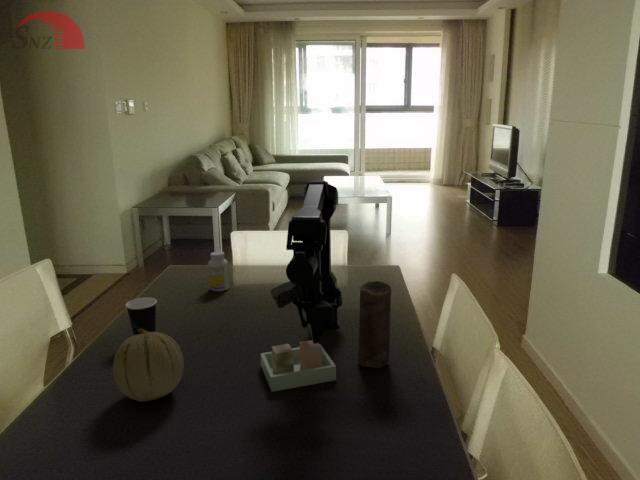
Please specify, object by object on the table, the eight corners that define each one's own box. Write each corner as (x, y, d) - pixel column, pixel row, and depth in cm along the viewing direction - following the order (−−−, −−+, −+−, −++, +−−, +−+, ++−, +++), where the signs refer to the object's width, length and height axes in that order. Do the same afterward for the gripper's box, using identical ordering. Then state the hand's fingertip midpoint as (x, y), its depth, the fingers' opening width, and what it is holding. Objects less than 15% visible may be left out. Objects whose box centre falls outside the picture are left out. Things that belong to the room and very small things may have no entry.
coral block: (316, 362, 124) (315, 339, 123) (321, 370, 120) (320, 346, 119) (300, 365, 123) (299, 342, 122) (304, 373, 119) (304, 349, 118)
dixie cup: (126, 347, 136) (121, 308, 133) (135, 334, 144) (130, 297, 141) (156, 346, 136) (152, 307, 134) (164, 333, 144) (160, 296, 141)
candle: (392, 359, 126) (393, 282, 121) (386, 374, 120) (387, 292, 115) (362, 355, 129) (362, 279, 124) (354, 369, 122) (354, 289, 117)
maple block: (289, 366, 122) (288, 343, 121) (294, 374, 119) (293, 350, 117) (272, 369, 121) (271, 346, 120) (277, 377, 118) (276, 353, 116)
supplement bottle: (220, 284, 184) (217, 249, 181) (233, 287, 180) (231, 252, 177) (206, 289, 179) (203, 254, 175) (219, 293, 175) (216, 256, 172)
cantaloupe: (148, 423, 103) (139, 354, 99) (101, 402, 111) (92, 338, 107) (201, 389, 115) (195, 326, 111) (156, 372, 123) (149, 314, 119)
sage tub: (320, 356, 129) (320, 343, 128) (336, 380, 118) (335, 366, 117) (261, 366, 125) (260, 353, 124) (271, 391, 113) (270, 377, 113)
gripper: (264, 262, 122) (267, 324, 126) (282, 287, 105) (285, 358, 109) (309, 258, 125) (311, 318, 129) (334, 281, 108) (335, 350, 112)
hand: (309, 334), depth 119 cm, fingers open, 9 cm apart
